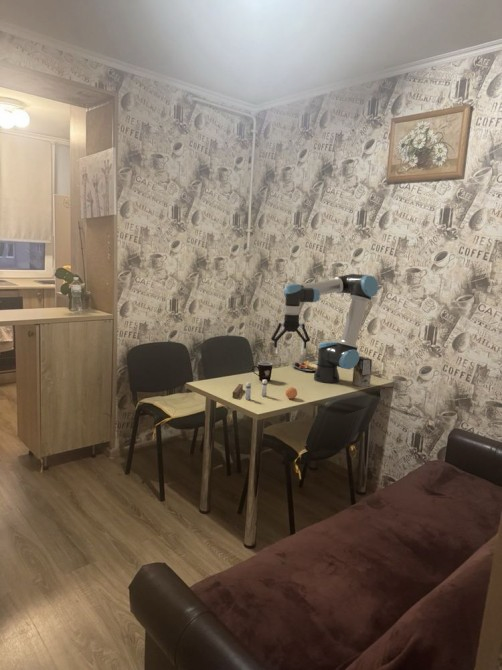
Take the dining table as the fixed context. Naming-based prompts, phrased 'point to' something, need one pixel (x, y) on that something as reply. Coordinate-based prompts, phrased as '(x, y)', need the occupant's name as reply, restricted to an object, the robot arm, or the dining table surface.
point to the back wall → (237, 390)
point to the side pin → (248, 390)
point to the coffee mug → (264, 370)
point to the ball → (291, 392)
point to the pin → (264, 388)
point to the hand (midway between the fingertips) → (289, 354)
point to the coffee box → (362, 372)
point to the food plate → (306, 365)
